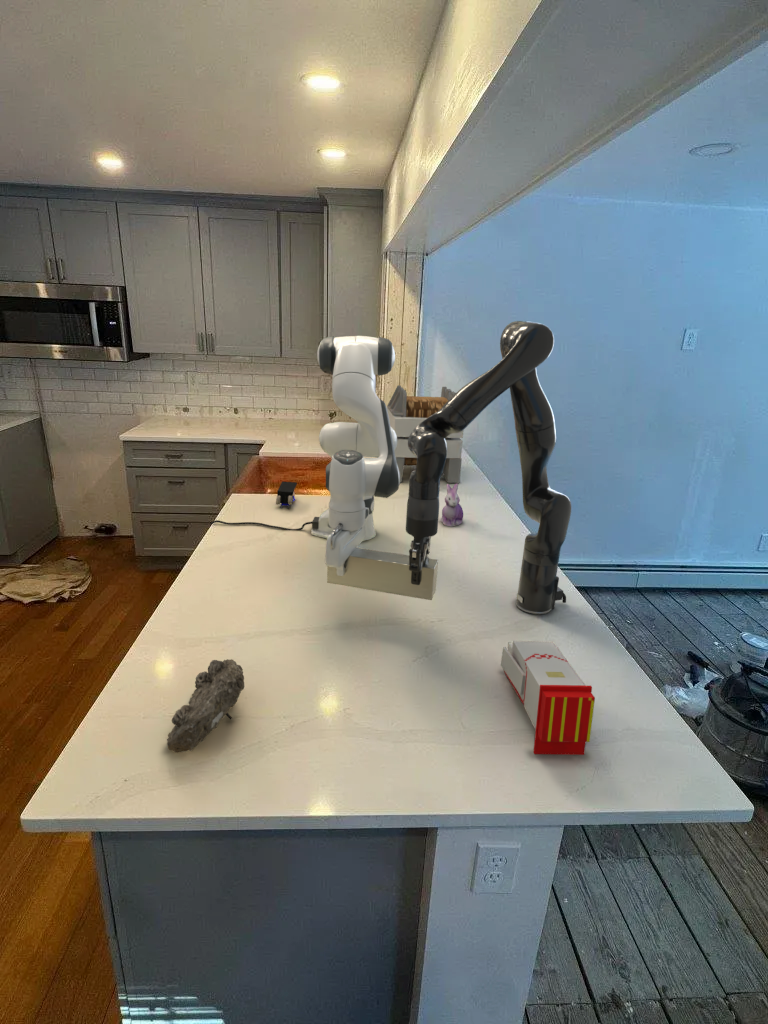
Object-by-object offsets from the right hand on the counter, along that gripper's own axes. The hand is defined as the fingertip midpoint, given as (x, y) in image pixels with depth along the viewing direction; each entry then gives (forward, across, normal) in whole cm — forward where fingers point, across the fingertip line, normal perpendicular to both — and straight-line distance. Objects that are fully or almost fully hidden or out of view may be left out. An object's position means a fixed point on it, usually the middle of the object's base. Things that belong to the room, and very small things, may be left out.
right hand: (418, 578), depth 138 cm
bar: (+4, 0, +9) cm, 10 cm away
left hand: (+1, 0, +19) cm, 19 cm away
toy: (+13, -22, -30) cm, 40 cm away
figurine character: (+13, +71, +68) cm, 100 cm away
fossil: (+13, -46, +29) cm, 56 cm away
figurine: (+13, +76, +3) cm, 77 cm away
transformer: (+13, +138, +30) cm, 142 cm away
